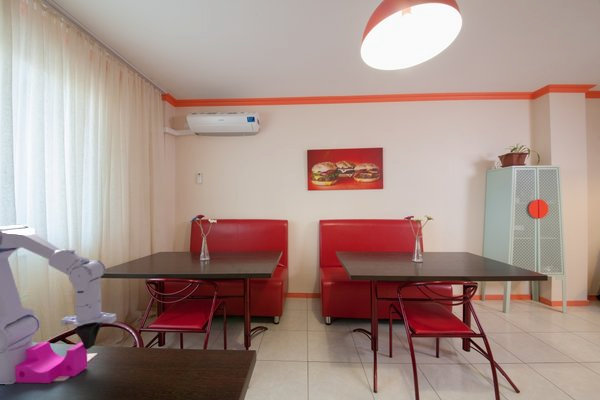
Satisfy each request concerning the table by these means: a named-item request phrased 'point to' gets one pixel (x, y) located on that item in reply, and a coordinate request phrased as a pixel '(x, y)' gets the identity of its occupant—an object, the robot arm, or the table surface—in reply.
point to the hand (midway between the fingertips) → (89, 346)
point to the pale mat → (63, 378)
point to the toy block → (50, 363)
